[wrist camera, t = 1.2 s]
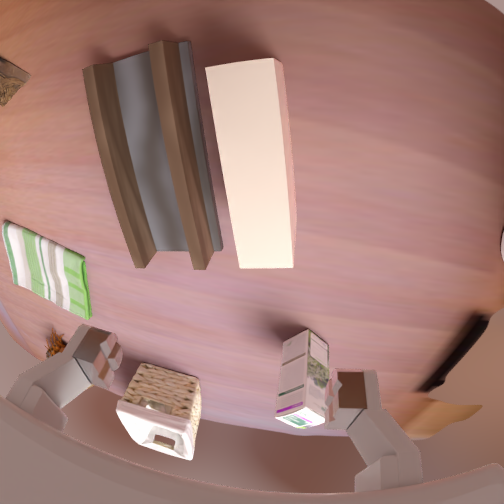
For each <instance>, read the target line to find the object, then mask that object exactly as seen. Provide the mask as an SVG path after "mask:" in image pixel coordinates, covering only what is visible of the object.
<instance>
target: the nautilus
mask: <svg viewBox="0 0 504 504" xmlns="http://www.w3.org/2000/svg"><path fill="white" fill-rule="evenodd" d="M52 332H53V328H52ZM52 334H53V333H52ZM52 334H51V337H52ZM55 334H56V332H55ZM55 334H53V337H54V338H53V339H54V341H55V340H56V339H55ZM57 335H58V334H57ZM63 335H64V334H63ZM63 335H62V336H63ZM62 336H61V338H62ZM57 337H58V336H57ZM61 338H59V337H58V340H59V339H60V341H57V340H56V342H54V343H55V344H54V345H53V343H52V342H51V343H52V346H51V347H49V345H48V347H49V349H48V348H47V347H46V346H45V347H46V348H47V349H48V351H47V359H48V358H50V357H52V356H53V355H55V354H57V353H59V352H61V353H62V352H63V350H64V349H65V347H66V346H65V345H64V344H63V342H62V341H61ZM50 341H51V339H50ZM61 342H62V343H61ZM47 344H48V341H47ZM92 386H93V384H91V386H89V387H88V388H90V387H92Z"/></svg>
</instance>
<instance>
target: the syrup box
mask: <svg viewBox="0 0 504 504" xmlns="http://www.w3.org/2000/svg"><path fill="white" fill-rule="evenodd" d="M328 380H329V345H328V344H327V343H326V342H324V341H323V340H322V339H320V338H319V337H318V336H317V335H315V334H314V333H313V332H312V331H310V330H309V329H307V330H305V331H303V332H301V333H299V334H297V335H295V336H293V337H292V338H290V339H288V340H286V341H284V342H283V351H282V360H281V369H280V378H279V385H278V393H277V400H276V408H275V416H274V417H275V418H277V419H279V420H281V421H283V422H285V423H287V424H289V425H292V426H294V427H296V428H298V429H304V428H309V427H313V426H316V425H319V424H321V423H324V422H325V412H326V410H327V409H328V407H327V406H326V404H325V390H326V385H327V383H328Z"/></svg>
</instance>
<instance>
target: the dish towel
mask: <svg viewBox="0 0 504 504" xmlns="http://www.w3.org/2000/svg"><path fill="white" fill-rule="evenodd" d="M2 235H3V240H4V244H5V248H6V251H7V255H8V258H9V262H10V268H11V271H12V276H13V283H14V284H16V285H20V286H22V287H24V288H27V289H29V290H31V291H33V292H34V293H36V294H37V295H39V296H41V297H43V298H45V299H47V300H50V301H52V302H54V303H55V304H56V305H58V306H60V307H61V308H63V309H66V310H68V311H70V312H72V313H74V314H76V315H78V316H80V317H83V318H85V319H86V320H89V319H90V317H92V312H91V303H90V296H89V288H88V282H87V274H86V265H85V262H84V261H83V260H84V259H85V257H84V256H82V255H80V254H78V253H76V252H74V251H71V250H69V249H67V248H65V247H63V246H61V245H59V244H58V243H56V242H54V241H52V240H49V239H47V238H45V237H42V236H40V235H39V234H37V233H35V232H33V231H31V230H29V229H27V228H24V227H21V226H19V225H16V224H13V223H10V222H8V221H7V222H4V224H3V226H2Z"/></svg>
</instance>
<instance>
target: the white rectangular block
mask: <svg viewBox="0 0 504 504" xmlns="http://www.w3.org/2000/svg"><path fill="white" fill-rule="evenodd" d="M205 69H206V76H207V82H208V88H209V94H210V101H211V107H212V113H213V119H214V125H215V131H216V137H217V143H218V148H219V154H220V160H221V166H222V172H223V177H224V183H225V189H226V194H227V200H228V206H229V211H230V217H231V222H232V228H233V234H234V239H235V244H236V250H237V255H238V261H239V266H240V268H293V264H294V252H295V238H296V224H297V212H296V197H295V183H294V171H293V158H292V147H291V136H290V126H289V116H288V107H287V98H286V89H285V80H284V72H283V64H282V63H281V62H279V61H278V60H276V59H274V58H266V59H257V60H249V61H242V62H235V63H228V64H222V65H217V66H211V67H206V68H205Z"/></svg>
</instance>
